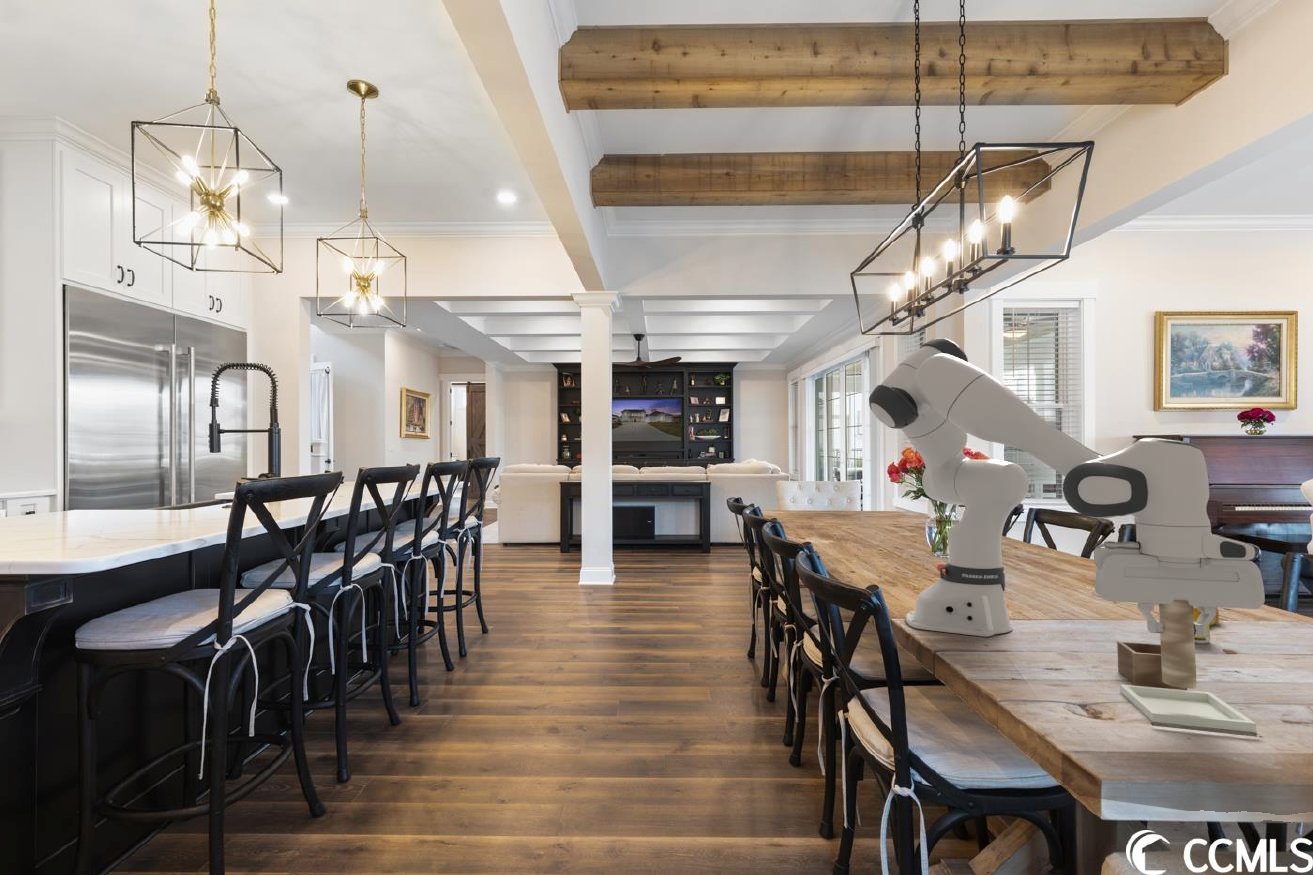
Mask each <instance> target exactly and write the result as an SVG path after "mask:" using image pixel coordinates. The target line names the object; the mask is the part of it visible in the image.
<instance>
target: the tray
mask: <svg viewBox="0 0 1313 875" xmlns="http://www.w3.org/2000/svg"><path fill="white" fill-rule="evenodd" d="M1119 692H1120V693H1121V694H1122V695H1123V696H1124V697H1125V698H1126V699H1127V700H1128V701H1129V702H1130V703H1132V705H1134V706H1135V707H1136V708H1137V709H1138V710H1139V711H1140V712H1141V713H1142V714H1144V715H1145V717H1146V718H1148V719H1149V720H1150V721H1151V722H1150V725H1152V726H1153V727H1163V728H1169V729H1171V728H1172V729H1180V730H1181V729H1182V730H1189V731H1197V732H1198V731H1199V732H1209V733H1219V734H1227V735H1237V736H1239V735H1240V736H1248V737H1257V736H1258V734H1257V723H1256V722H1254V721H1253V720H1251V719H1250V718H1248V717H1247V716H1246V715H1245V714H1242V713H1241V712H1240V711H1238V710H1237V709H1235V707H1232V706H1231V705H1229V704H1228V703H1226V702H1225V700H1224V701H1223V700H1222V699H1221V698H1219V697H1218V696H1216V695H1214V693H1212V692H1211V691H1199V690H1188V689H1187V690H1178V689H1167V688H1155V687H1144V686H1135V685H1133V684H1132V685H1130V684H1122V683H1121V684H1119Z"/></svg>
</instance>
